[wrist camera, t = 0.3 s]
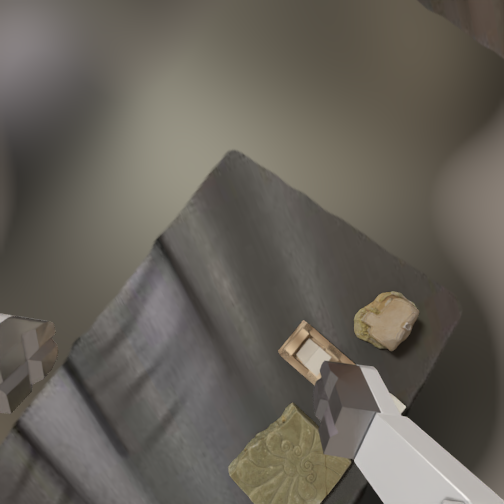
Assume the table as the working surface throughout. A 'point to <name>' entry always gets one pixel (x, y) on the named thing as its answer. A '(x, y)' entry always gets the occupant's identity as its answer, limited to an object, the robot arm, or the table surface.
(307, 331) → the rack
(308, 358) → the white upright prism
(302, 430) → the decorative tile
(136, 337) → the table surface
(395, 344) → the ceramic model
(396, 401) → the white rectangular block
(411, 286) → the table surface
